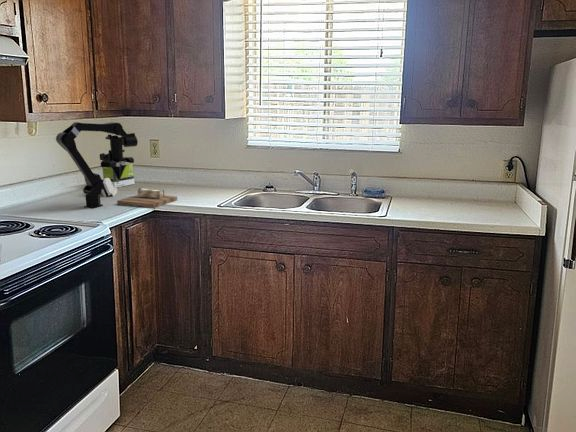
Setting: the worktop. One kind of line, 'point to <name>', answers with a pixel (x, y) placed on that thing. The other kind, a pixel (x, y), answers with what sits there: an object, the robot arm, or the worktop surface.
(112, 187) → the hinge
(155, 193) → the leg
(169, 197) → the seat board
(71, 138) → the robot arm
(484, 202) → the worktop surface
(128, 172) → the tea box
